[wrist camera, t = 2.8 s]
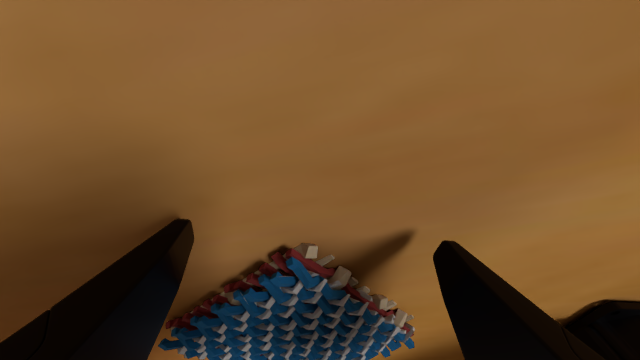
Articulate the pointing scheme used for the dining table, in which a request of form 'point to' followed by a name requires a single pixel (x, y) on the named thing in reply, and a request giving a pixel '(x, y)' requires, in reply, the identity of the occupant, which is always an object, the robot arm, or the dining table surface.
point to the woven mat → (292, 316)
